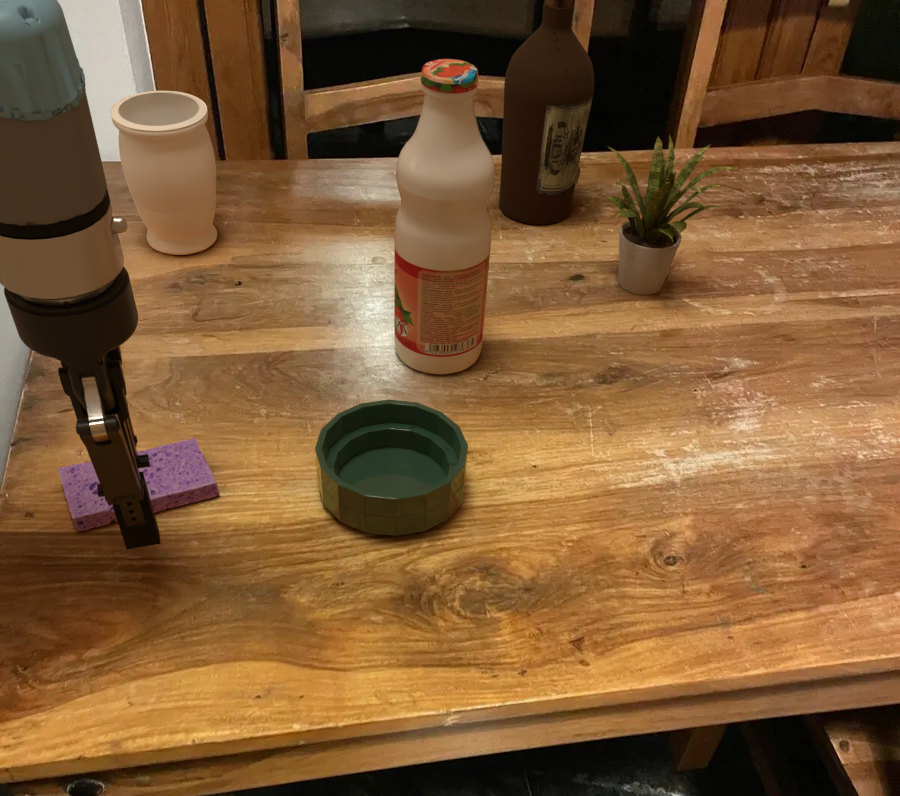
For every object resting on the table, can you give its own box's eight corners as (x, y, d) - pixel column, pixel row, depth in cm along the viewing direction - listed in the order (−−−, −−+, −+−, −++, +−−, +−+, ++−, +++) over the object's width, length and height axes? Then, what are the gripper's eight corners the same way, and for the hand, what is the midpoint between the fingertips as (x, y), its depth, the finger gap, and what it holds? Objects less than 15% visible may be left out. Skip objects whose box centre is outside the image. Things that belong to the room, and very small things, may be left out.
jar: (134, 222, 115) (105, 93, 104) (218, 213, 117) (199, 85, 106) (143, 266, 108) (114, 133, 97) (233, 255, 111) (214, 124, 100)
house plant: (732, 307, 108) (776, 166, 96) (631, 331, 104) (662, 187, 92) (665, 248, 117) (698, 111, 104) (569, 267, 113) (591, 127, 100)
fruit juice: (456, 387, 96) (474, 100, 75) (377, 359, 99) (373, 74, 77) (496, 342, 102) (523, 63, 81) (420, 316, 104) (427, 39, 83)
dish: (336, 551, 80) (333, 509, 76) (307, 453, 88) (303, 411, 85) (481, 526, 83) (486, 484, 79) (441, 433, 91) (443, 391, 87)
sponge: (62, 483, 84) (57, 467, 83) (200, 450, 88) (197, 434, 87) (76, 534, 80) (70, 518, 79) (220, 497, 84) (217, 481, 83)
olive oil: (478, 201, 123) (493, -19, 104) (539, 181, 127) (565, -32, 108) (529, 236, 117) (555, 11, 98) (591, 214, 122) (628, -5, 103)
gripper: (134, 325, 55) (198, 590, 73) (121, 218, 63) (182, 480, 81) (-2, 341, 53) (98, 608, 71) (3, 229, 61) (91, 494, 79)
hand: (142, 540), depth 76 cm, fingers closed
